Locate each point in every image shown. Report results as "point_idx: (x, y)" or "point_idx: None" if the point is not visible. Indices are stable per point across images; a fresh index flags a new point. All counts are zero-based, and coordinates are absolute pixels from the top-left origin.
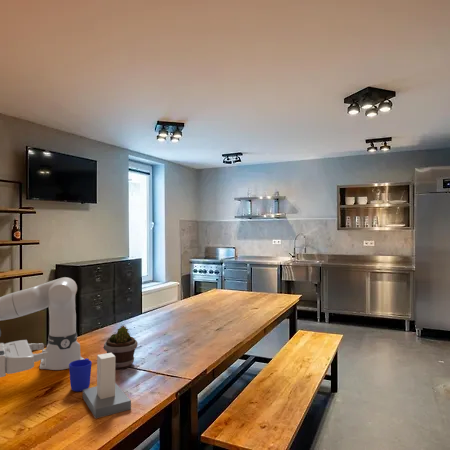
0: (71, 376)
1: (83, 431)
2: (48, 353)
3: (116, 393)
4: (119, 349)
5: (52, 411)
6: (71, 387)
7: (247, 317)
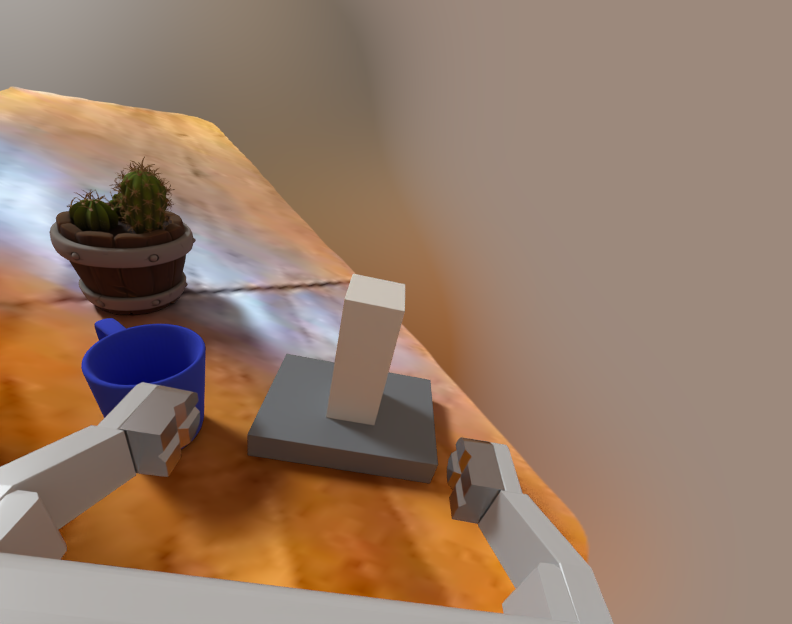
0: None
1: None
2: (503, 449)
3: None
4: (167, 252)
5: None
6: None
7: (203, 151)
